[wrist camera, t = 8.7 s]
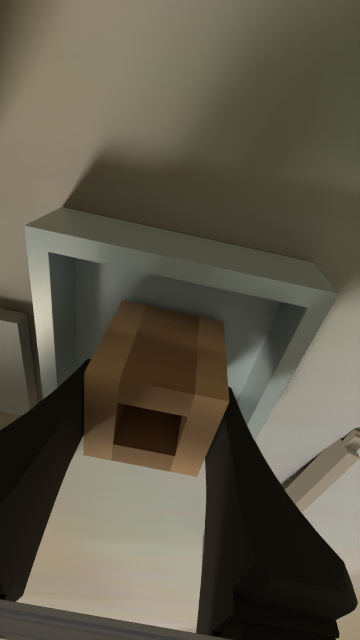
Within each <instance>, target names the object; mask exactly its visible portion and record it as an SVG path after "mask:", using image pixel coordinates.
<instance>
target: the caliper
mask: <svg viewBox="0 0 360 640" xmlns="http://www.w3.org/2000/svg"><path fill="white" fill-rule="evenodd" d="M359 448H360V431H358V430H353V431H352V432H350V433H349V434H348V435H347V436H346V438H345V439H344V440H341V439H339V440H337V441H336V442H335V443H333V444H332V445H330V446H329V447H327V448H326V449H324V450H323V451H322V452H321V453H320V454H319V455H318V456H317V457H316V459H315V460H314V461H313V462H312V463H311V464H310V465H309V466H308V467H307V468H306V469H305V470H304V471H303V472H302V473H301V474H300V475H299V476H298V477H297V478H296V479H295V480H294V481H293V482H292V483H291V484H290V485H289V486H288V487H287V488H286V489H285V491H286V493H287V494H288V495H289V497H290V498H291V499H292V501H293V502H294V503H295V505H296V506H297V507H298V509H299V510H300V511H301V513H302V512H303V511H304V510H305V509H306V508H307V507H308V506H309V505H310V504H311V503H312V502H314V501H315V500H316V499H317V498H318V497H319V496H320V495H321V494H322V493H323V492H324V491H325V490H326V489H327V488H329V487H330V486H331V485H332V484H333V483H334V482H335V481H336V480H337V479H338V478H339V477H340V476H341V475H342V474H343V473H344V472H346V471H347V470H348V469H349V468H350V467H351V466H352V465H353V464H354V463H355V462H356V461H357V460H358V459H359V458H360V457H359V455H358V453H357V452H356V451H357V450H358V449H359ZM204 534H205V532H204ZM203 549H204V535H203V545H202V563H203Z"/></svg>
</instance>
